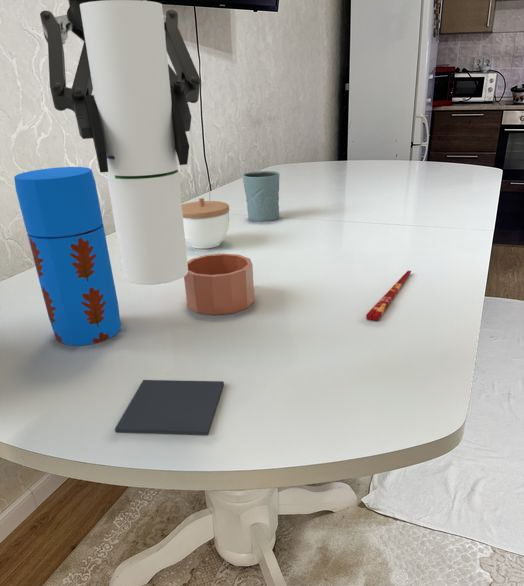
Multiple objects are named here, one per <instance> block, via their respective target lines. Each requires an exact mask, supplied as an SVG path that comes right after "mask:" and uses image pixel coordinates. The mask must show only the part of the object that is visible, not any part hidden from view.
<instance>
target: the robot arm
mask: <svg viewBox="0 0 524 586" xmlns="http://www.w3.org/2000/svg"><path fill="white" fill-rule="evenodd" d="M67 1H68V5H69V7H68V8H67V11H66V14H63V15H59V16H54V14H53V12H51V11H50V10H43V11H41V12H40V13H39V16H40V22H41V28H42V32H43V36H44V39H45V41H46V43H47V48H48V49H47V52H48V53H47V54H48V57H47V58H48V75H49V77H48V79H49V90H50V93H51V98H52V102H53V107H54V109H55V110H56V111H59V112H62V111H65V110H66V109H67V110H70V111H72V112H73V113H74V116H75V119H76V123H77V129H78V133H79V136H80V138H81V139H82V140H87V139H92V141H93V146H94V149H95V154H96V160H97V163H98V164H97V165H98V169H99V173H106V172H108V163H107V154H106V149H105V144H104V140H103V135H102V131H101V126H100V122H99V117H98V113H97V108H96V103H95V98H94V94H93V86H92V80H91V73H90V67H89V61H88V55H87V48H86V42H85V36H84V30H83V23H82V17H81V11H80V4H82V3H86V2H92V1H105V0H67ZM140 1H144V0H140ZM163 19H164V30H165V40H166V50H167V56H168V57H169V60H170V62H171V65H172V67H173V68H172V67H171V66H170V64H169V63H168V70H169V81H170V91H171V102H172V106H171V110H172V119H173V129H174V139H175V148H176V153H177V161H178V165H179V166H186V165H188V161H189V153H190V143H189V139H188V136H187V132H191V131H190V130H191V123H192V114H191V111H190V106H189V104H188V103H191V104H196V103H197V102H198V101H199V98H200V90H201V77H200V75H199V73H198V71H197V68H196V66H195V64H194V61H193V59H192V57H191V55H190V54H191V53H190V52H189V50H188V48H187V46H186V43H185V41H184V38H183V36H182V34H181V31H180V29H179V27H178V25H179V23H178V22H179V14H178V12H177V11H176V10H174V9H168V10H167V11H165V15H163ZM70 31H71V32H72V33H73V34H74V35H75V36H76V37H78V38H79V39H80V41H82V42H83V45H82V49H81V53H80V55H79V59H78V63H77V67H76V72H75V75H74V79H73V82H72V86H71V87H67V79H66V78H67V77H66V62H65V61H66V59H65V49H64V45H65V44H66V40H67V39H68V37H69V35H68V33H70ZM173 69H174V70H173Z"/></svg>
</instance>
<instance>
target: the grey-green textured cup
mask: <svg viewBox="0 0 524 586" xmlns="http://www.w3.org/2000/svg"><path fill="white" fill-rule="evenodd" d="M242 180H243V182H242V183H243V189H244V193H245V201H246V208H247V210H246V211H247V217H248V220H249V221H252V222H259V223H261V222H271V221H275V220H278V219H279V217H280V205H279V201H280V196H279V195H280V193H279V192H280V172H279V171H277V170H276V171H275V170H261V171H260V170H257V171H250V172H245V173H243V174H242Z"/></svg>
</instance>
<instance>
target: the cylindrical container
mask: <svg viewBox="0 0 524 586" xmlns="http://www.w3.org/2000/svg"><path fill="white" fill-rule="evenodd" d="M163 10H164V9H163V3H161V2H157V1H151V0H143V1H140V0H105V1H92V2H86V3H82V4H80V11H81V17H82V23H83V30H84V36H85V42H86V48H87V55H88V61H89V67H90V73H91V80H92V86H93V91H92V93H93V95H94V99H95V103H96V108H97V113H98V117H99V122H100V126H101V131H102V135H103V140H104V144H105V149H106V154H107V163H108V172H105V173H106V179H107V180H106V181H107V185H108V186H107V187H108V191H109V198H110V204H111V211H112V218H113V223H114V229H115V234H116V235H115V236H116V242H117V248H118V254H119V261H120V267H121V271H122V272H121V273H122V278H123V280H124V281H126V282H128V283H130V284H134V285H140V286H141V285H142V286H151V285H153V286H154V285H162V284H167V283H173V282H175V281H178V280H180V279H184V276H185V275H187V273H188V264H187V262H188V255H187V246H186V245H187V244H186V240H185V234H184V223H183V213H182V204H183V203H182V195H181V185H180V174H179V170H178V169H179V161H178V157H177V153H176V148H175V139H174V129H173V119H172V110H171V106H172V102H171V91H170V81H169V70H168V64H169V61H168V53H167V50H166V40H165V30H164V19H163V16H164V11H163Z"/></svg>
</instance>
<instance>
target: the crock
mask: <svg viewBox="0 0 524 586" xmlns="http://www.w3.org/2000/svg"><path fill="white" fill-rule="evenodd" d="M187 264H188V273H187V275H185V276H184V277H183V280H184V288H185V290H184V291H185V296H186V307H187V309H189V310H191V311H192V312H195V313H197V314H201V315H202V314H204V315H210V316H217V315H229V314H234V313H237V312H240V311H243V310H246V309H248V308H249V307H250V306H251V305H252V304H253V303H254V302H255V287H254V269H253V268H254V266H253V263H252V260H251V258H249V257H247V256H244V255H242V254H237V253H213V254H205V255H201V256H197V257H193V258H191V259H189V260H187Z"/></svg>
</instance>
